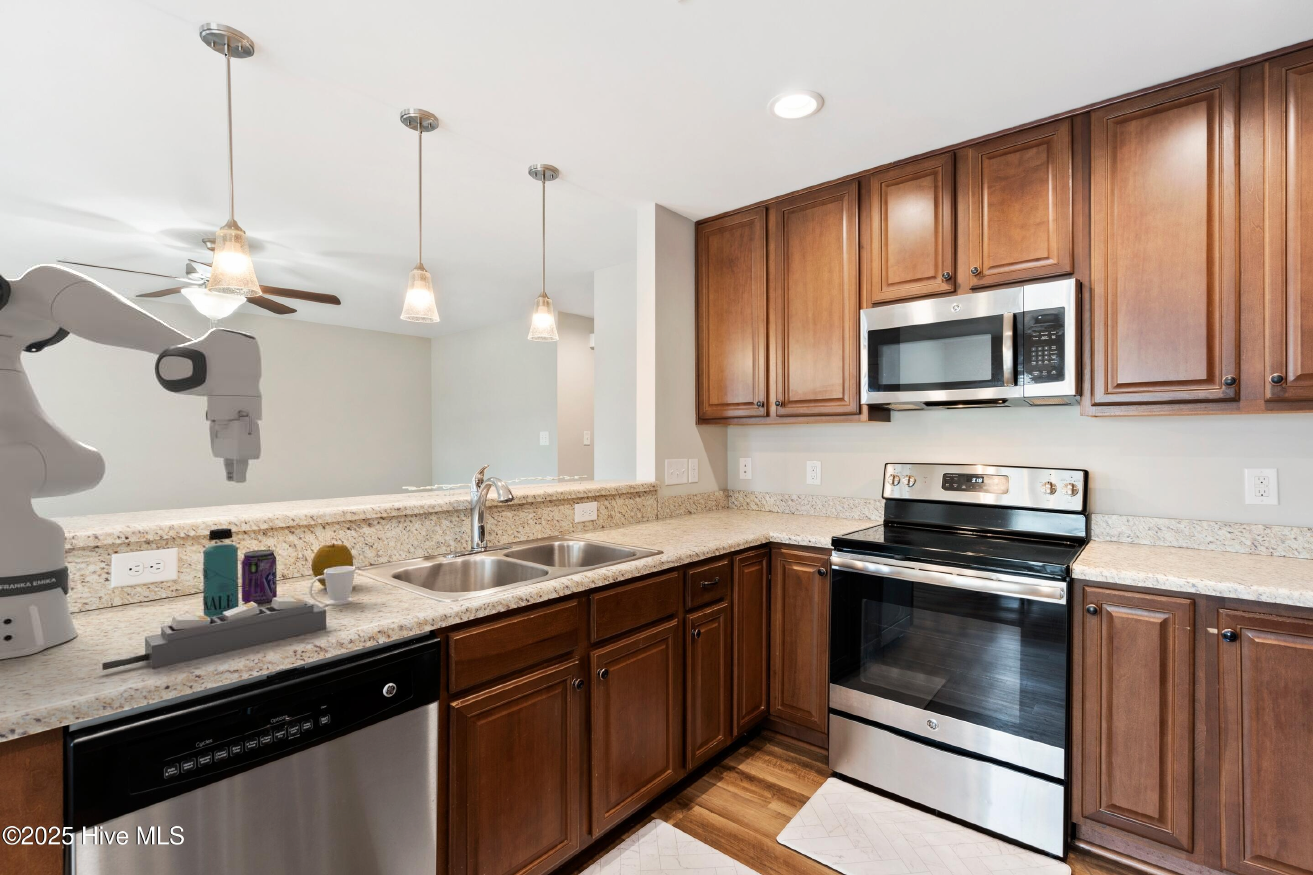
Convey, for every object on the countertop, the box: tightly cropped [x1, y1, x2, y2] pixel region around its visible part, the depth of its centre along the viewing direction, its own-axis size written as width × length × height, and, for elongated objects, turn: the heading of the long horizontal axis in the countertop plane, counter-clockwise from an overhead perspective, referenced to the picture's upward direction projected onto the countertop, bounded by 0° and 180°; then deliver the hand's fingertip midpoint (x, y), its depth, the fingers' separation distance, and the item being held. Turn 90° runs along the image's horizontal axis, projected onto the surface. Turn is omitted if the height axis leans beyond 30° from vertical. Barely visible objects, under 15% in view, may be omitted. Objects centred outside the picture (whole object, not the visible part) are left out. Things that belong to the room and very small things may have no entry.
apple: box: [310, 542, 354, 588], centre depth 159 cm, size 10×10×12 cm
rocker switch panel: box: [101, 599, 327, 671], centre depth 115 cm, size 34×7×5 cm, turn 138°
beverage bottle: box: [202, 527, 240, 618], centre depth 131 cm, size 6×7×20 cm
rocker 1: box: [170, 615, 211, 629], centre depth 111 cm, size 5×4×2 cm
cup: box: [308, 566, 356, 606], centre depth 143 cm, size 7×10×8 cm
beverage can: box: [240, 549, 278, 605], centre depth 146 cm, size 7×7×12 cm
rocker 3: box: [270, 597, 307, 609], centre depth 123 cm, size 5×4×2 cm
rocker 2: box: [223, 602, 260, 621], centre depth 117 cm, size 5×4×2 cm
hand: (235, 481), depth 119 cm, fingers open, 4 cm apart
